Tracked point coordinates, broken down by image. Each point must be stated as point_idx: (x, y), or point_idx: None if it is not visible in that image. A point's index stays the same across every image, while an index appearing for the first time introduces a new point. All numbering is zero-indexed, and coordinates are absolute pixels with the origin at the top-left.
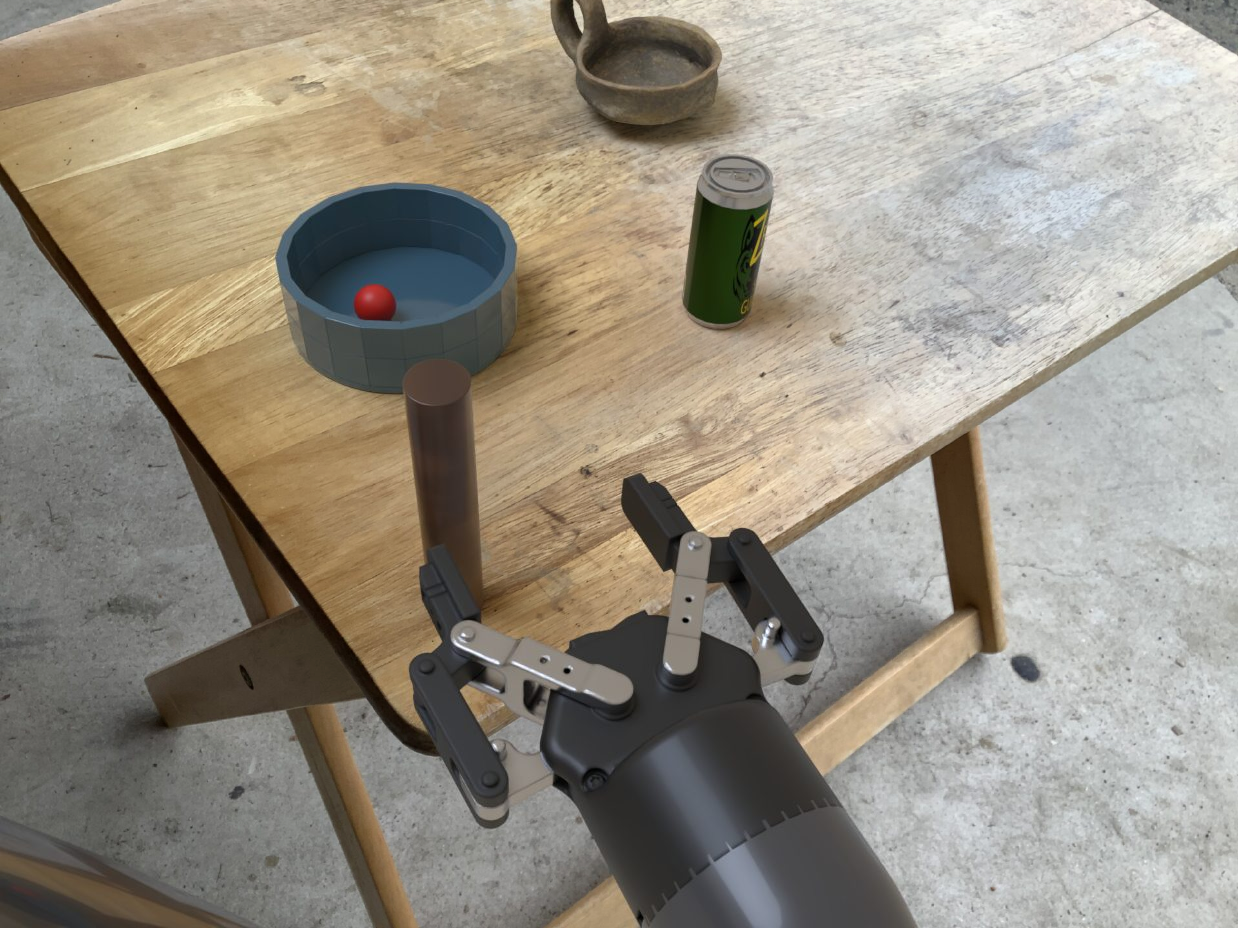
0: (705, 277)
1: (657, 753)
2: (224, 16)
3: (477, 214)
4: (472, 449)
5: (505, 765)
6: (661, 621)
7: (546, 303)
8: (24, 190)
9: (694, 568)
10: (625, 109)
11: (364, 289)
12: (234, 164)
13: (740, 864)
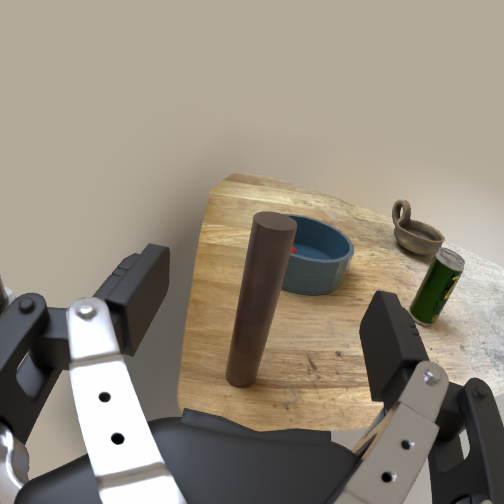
0: (424, 297)
1: None
2: (293, 184)
3: (343, 240)
4: (279, 279)
5: None
6: (345, 460)
7: (355, 286)
8: (209, 193)
9: (423, 404)
10: (408, 241)
11: None
12: (271, 209)
13: None
